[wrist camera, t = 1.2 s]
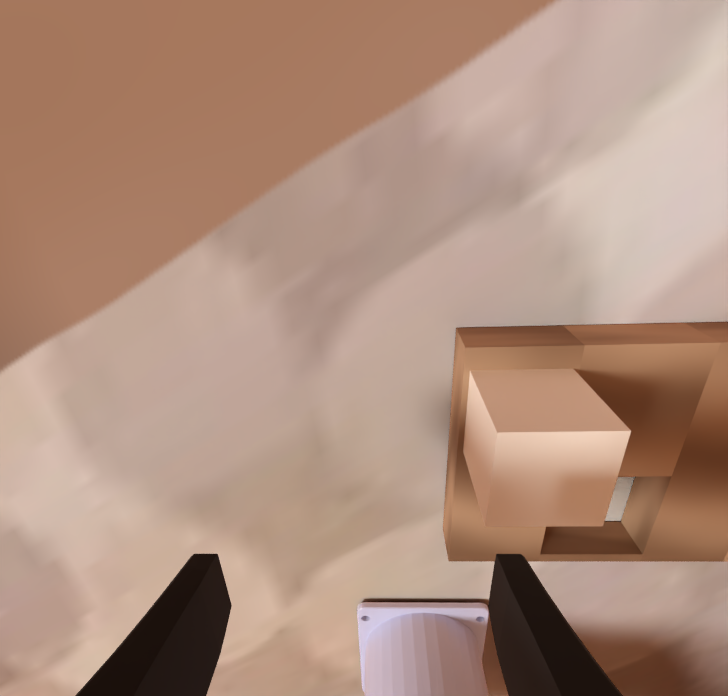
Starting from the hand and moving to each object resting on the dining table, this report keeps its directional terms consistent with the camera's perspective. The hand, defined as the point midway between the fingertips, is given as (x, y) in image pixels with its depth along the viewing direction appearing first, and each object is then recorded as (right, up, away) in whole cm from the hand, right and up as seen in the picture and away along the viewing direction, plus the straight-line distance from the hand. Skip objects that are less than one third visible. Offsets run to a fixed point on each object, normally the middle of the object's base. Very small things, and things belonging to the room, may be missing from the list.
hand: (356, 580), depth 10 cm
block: (+6, +3, +6) cm, 10 cm away
